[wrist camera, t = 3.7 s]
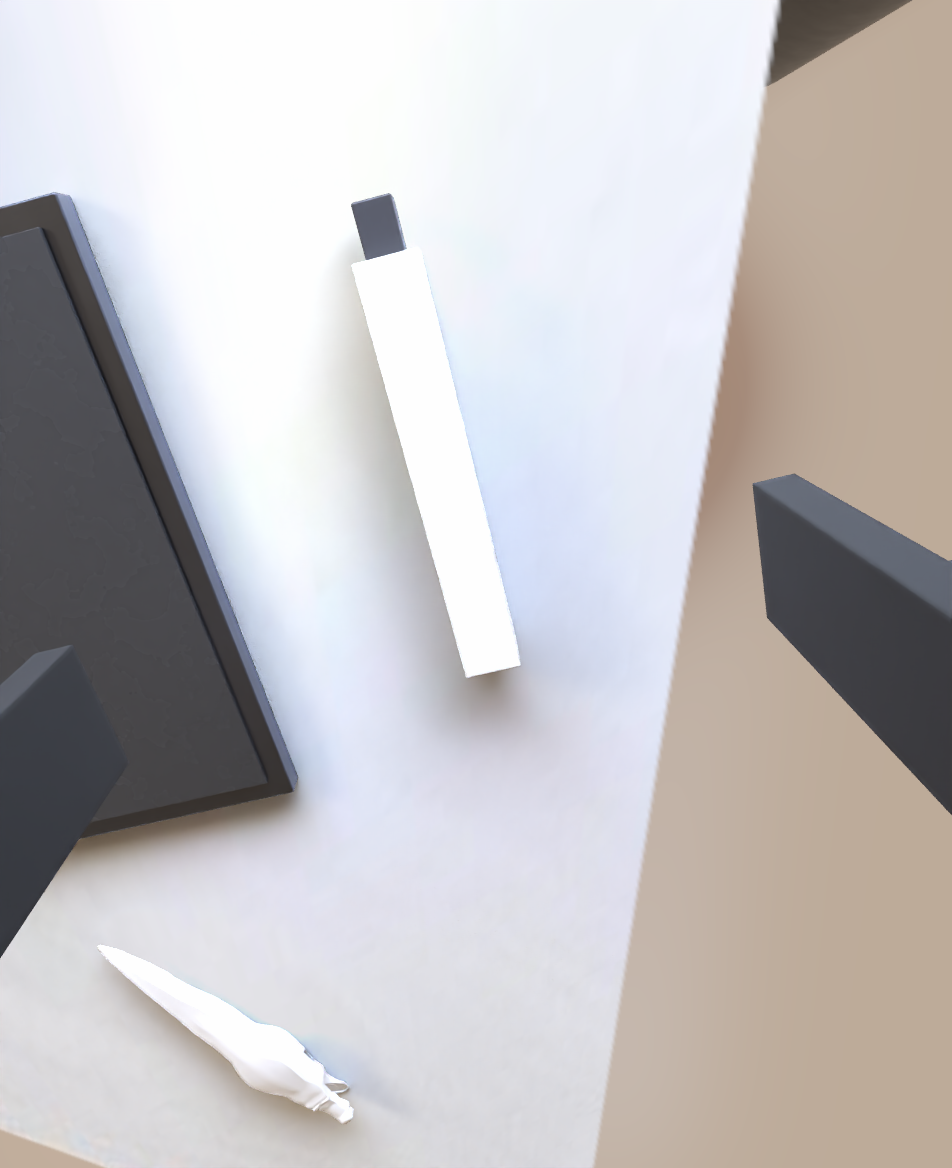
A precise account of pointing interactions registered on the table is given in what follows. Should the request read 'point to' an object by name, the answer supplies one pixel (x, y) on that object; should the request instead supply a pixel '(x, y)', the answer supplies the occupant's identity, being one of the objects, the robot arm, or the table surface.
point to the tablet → (115, 542)
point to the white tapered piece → (240, 1039)
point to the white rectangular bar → (433, 437)
